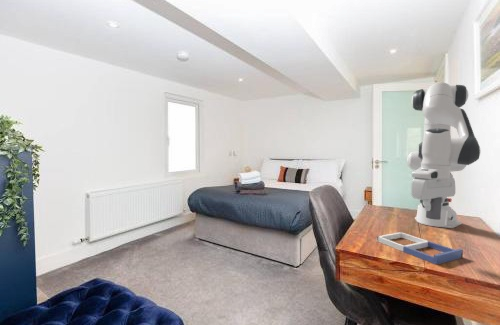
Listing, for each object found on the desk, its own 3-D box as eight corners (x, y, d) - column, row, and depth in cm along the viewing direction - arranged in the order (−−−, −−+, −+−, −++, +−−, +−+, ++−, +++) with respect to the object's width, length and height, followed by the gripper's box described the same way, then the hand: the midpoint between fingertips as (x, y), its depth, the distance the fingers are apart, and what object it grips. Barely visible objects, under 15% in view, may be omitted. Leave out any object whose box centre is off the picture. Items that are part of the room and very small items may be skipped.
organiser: (400, 236, 115) (401, 229, 114) (462, 257, 92) (462, 249, 92) (376, 241, 109) (376, 234, 109) (436, 264, 87) (436, 256, 86)
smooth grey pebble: (430, 215, 97) (431, 195, 97) (443, 218, 93) (444, 197, 93) (423, 217, 96) (424, 195, 95) (435, 220, 92) (436, 198, 91)
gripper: (443, 171, 101) (441, 205, 101) (408, 172, 93) (406, 210, 93) (461, 172, 95) (459, 209, 95) (426, 174, 87) (424, 214, 87)
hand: (433, 209), depth 94 cm, fingers closed on smooth grey pebble, 4 cm apart
